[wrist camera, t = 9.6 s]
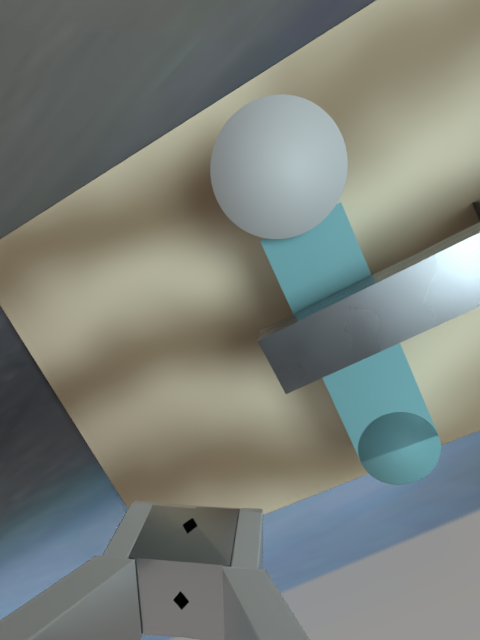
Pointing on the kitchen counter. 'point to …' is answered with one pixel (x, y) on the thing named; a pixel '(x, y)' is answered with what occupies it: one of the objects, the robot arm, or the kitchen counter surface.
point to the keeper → (377, 311)
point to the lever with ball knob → (321, 265)
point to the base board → (252, 273)
